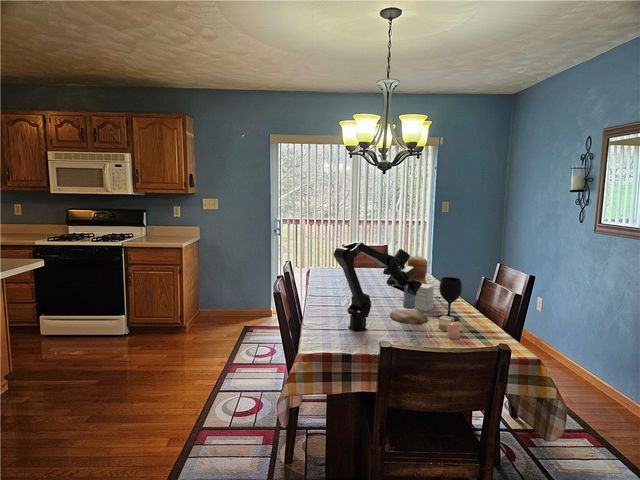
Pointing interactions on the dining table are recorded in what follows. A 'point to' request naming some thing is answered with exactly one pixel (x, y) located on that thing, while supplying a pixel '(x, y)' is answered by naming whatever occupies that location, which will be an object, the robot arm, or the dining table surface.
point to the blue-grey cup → (408, 299)
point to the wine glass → (450, 292)
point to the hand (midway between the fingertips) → (411, 293)
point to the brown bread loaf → (408, 316)
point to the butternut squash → (418, 268)
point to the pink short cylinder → (453, 330)
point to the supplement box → (424, 297)
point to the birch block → (445, 322)
